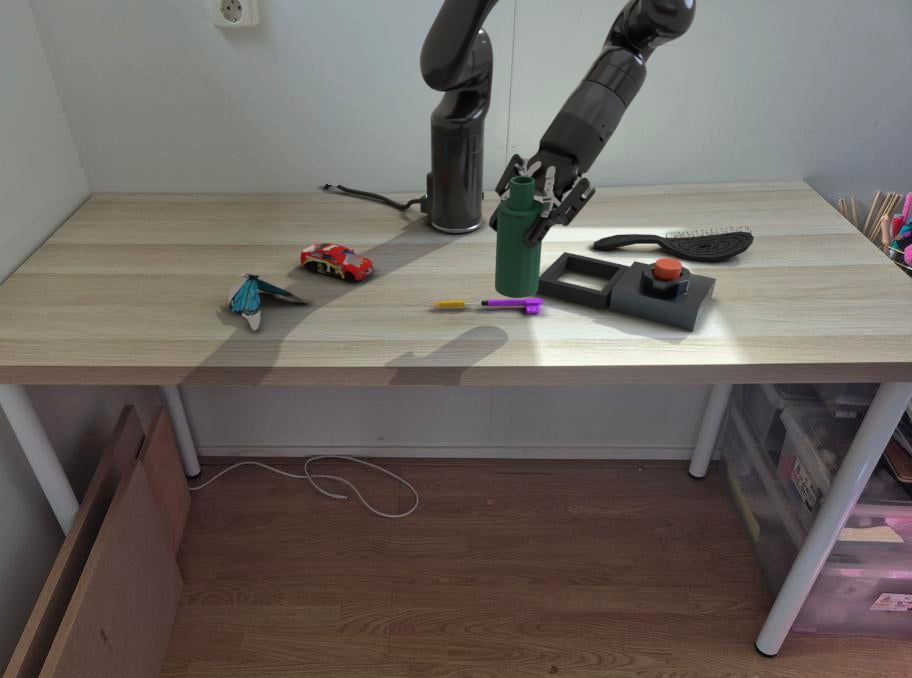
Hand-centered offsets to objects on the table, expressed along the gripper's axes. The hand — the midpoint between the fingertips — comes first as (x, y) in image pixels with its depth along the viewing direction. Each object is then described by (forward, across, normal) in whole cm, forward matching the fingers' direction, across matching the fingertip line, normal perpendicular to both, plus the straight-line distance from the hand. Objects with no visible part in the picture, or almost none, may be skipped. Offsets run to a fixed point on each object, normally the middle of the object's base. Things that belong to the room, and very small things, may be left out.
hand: (510, 236), depth 93 cm
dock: (-2, -1, +21) cm, 21 cm away
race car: (+17, -30, +2) cm, 34 cm away
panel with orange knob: (-5, +10, +24) cm, 27 cm away
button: (-9, +10, +21) cm, 25 cm away
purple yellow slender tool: (+4, 0, +14) cm, 14 cm away
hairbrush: (-17, 0, +36) cm, 40 cm away
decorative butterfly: (+28, -27, -9) cm, 40 cm away
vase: (+5, 0, +7) cm, 8 cm away
